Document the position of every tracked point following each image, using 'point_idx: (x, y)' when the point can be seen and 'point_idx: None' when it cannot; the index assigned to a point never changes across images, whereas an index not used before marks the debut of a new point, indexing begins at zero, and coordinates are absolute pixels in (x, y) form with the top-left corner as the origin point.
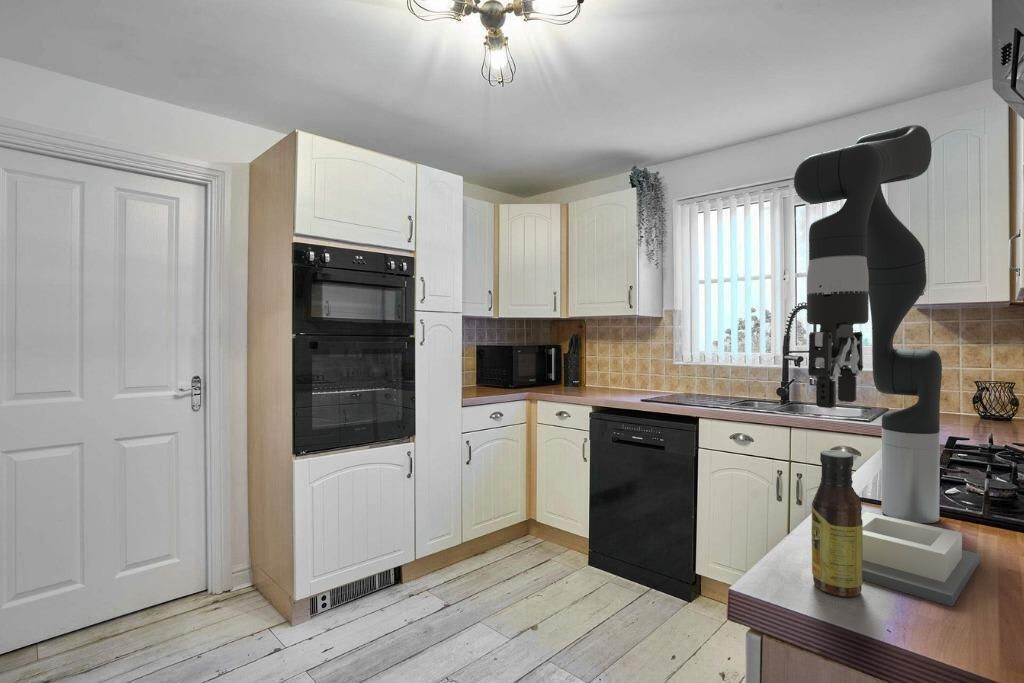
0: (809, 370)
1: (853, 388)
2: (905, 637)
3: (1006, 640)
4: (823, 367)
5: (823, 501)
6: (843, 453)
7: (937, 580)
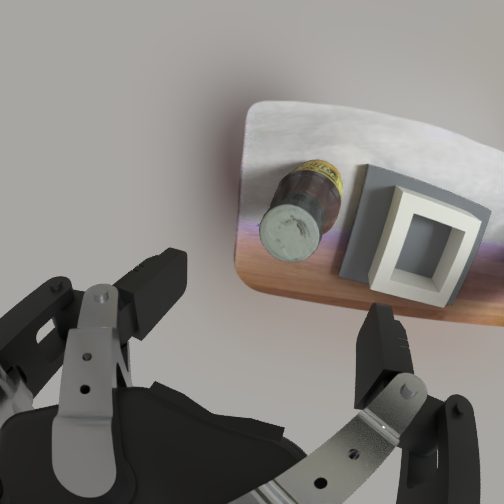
0: (45, 285)
1: (357, 370)
2: (255, 236)
3: (297, 295)
4: (57, 331)
5: (280, 191)
6: (292, 247)
7: (369, 269)
